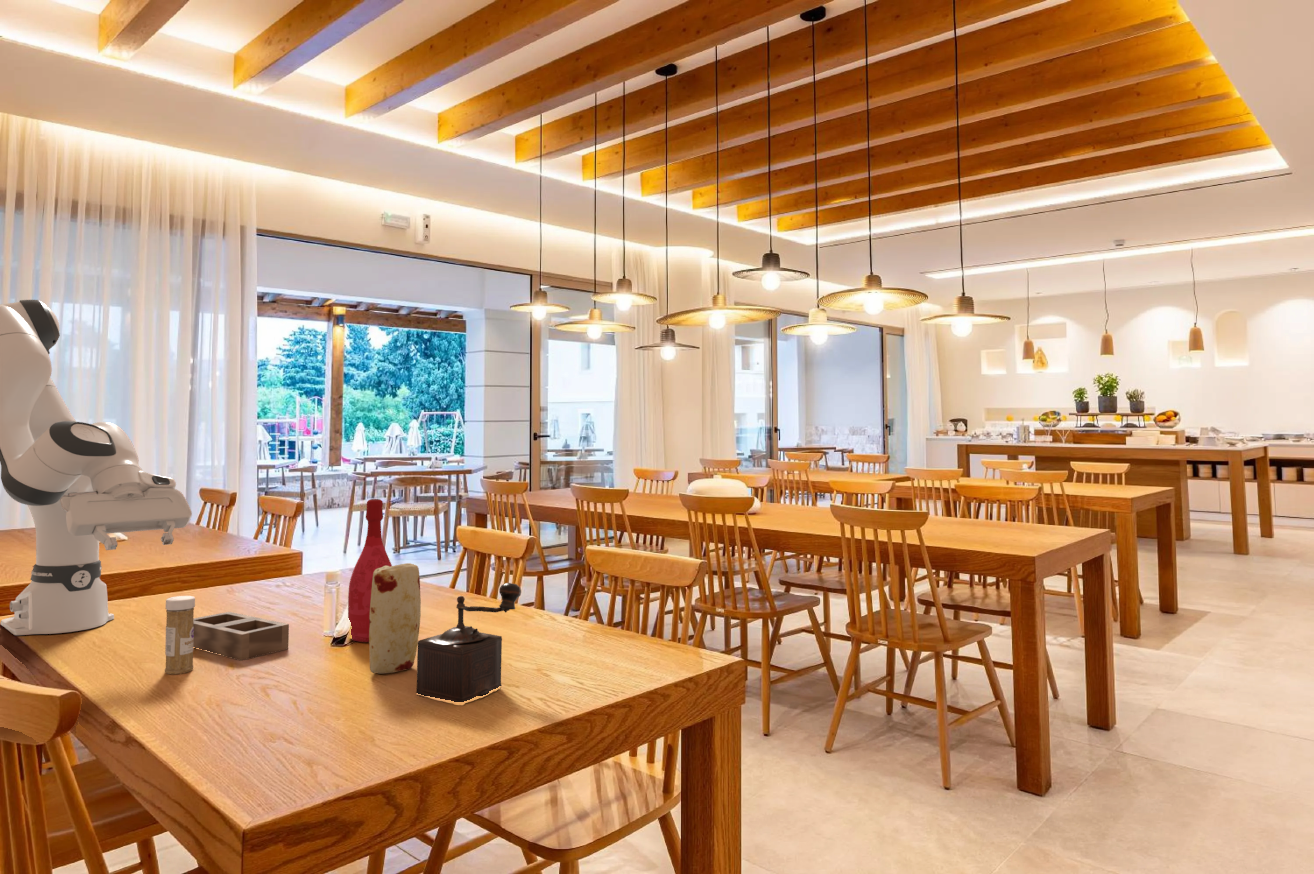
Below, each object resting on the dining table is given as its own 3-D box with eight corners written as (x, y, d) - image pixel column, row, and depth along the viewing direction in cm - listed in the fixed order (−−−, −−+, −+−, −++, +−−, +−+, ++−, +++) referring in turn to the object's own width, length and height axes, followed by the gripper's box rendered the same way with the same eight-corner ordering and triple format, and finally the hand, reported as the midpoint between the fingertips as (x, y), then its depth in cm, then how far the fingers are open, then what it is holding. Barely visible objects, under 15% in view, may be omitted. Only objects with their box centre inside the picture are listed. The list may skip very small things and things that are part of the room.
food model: (378, 680, 138) (381, 568, 138) (359, 672, 142) (362, 564, 142) (426, 669, 145) (429, 562, 145) (407, 661, 150) (409, 558, 150)
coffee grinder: (463, 707, 125) (466, 596, 125) (414, 695, 130) (416, 589, 131) (524, 682, 139) (526, 582, 139) (477, 672, 144) (479, 575, 144)
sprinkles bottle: (194, 672, 140) (195, 598, 140) (164, 676, 138) (166, 600, 138) (192, 666, 144) (194, 594, 144) (163, 669, 142) (165, 596, 142)
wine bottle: (337, 640, 164) (340, 499, 164) (370, 630, 173) (373, 496, 173) (373, 646, 160) (376, 501, 160) (405, 635, 169) (408, 498, 170)
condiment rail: (181, 645, 158) (181, 620, 158) (228, 634, 167) (229, 611, 167) (241, 660, 148) (241, 634, 148) (288, 648, 157) (288, 624, 157)
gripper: (62, 482, 143) (79, 539, 137) (182, 478, 159) (203, 529, 153) (53, 504, 146) (70, 562, 140) (173, 498, 162) (193, 550, 156)
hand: (141, 545), depth 147 cm, fingers open, 8 cm apart
